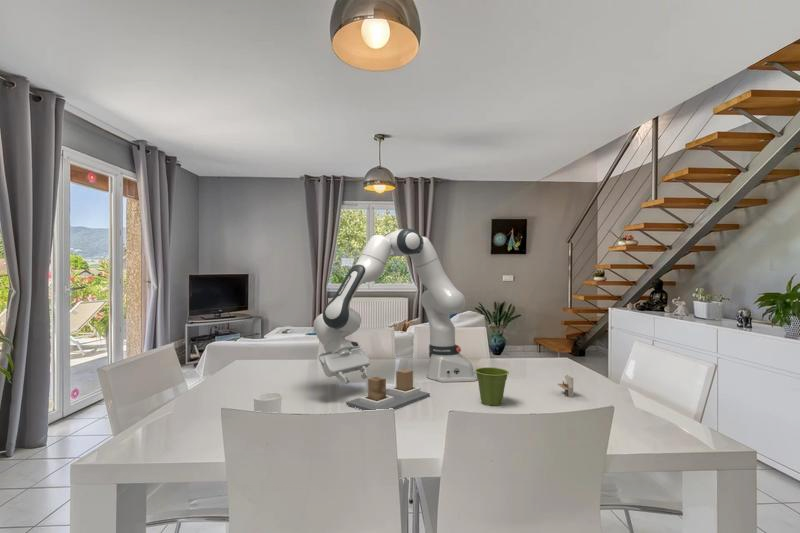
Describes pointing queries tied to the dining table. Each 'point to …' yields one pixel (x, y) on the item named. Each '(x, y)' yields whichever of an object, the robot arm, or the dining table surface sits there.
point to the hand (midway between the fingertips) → (356, 380)
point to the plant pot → (491, 384)
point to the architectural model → (568, 386)
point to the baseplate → (393, 394)
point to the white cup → (268, 402)
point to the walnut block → (377, 388)
